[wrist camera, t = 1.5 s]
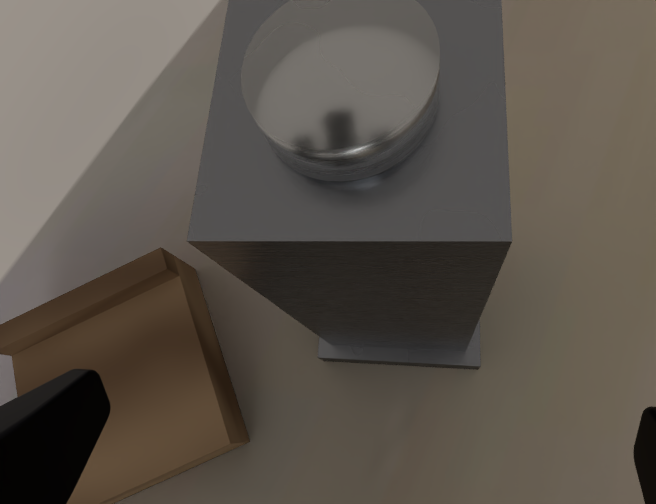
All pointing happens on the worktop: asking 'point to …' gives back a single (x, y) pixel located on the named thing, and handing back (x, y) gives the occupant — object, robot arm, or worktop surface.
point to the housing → (362, 171)
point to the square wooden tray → (135, 372)
